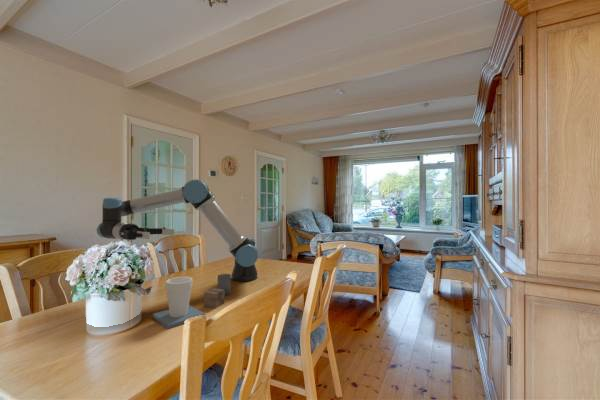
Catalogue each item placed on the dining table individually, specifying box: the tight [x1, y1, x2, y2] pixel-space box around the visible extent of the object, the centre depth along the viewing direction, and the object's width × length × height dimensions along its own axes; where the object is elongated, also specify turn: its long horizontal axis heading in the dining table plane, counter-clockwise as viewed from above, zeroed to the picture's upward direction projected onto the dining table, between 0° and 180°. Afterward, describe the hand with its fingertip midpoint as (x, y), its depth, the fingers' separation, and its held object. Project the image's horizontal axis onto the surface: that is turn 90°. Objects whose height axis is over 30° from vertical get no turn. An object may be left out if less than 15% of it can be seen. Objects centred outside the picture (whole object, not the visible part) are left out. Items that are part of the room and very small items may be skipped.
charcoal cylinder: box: [217, 273, 232, 297], centre depth 131 cm, size 6×6×9 cm
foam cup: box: [165, 276, 194, 317], centre depth 105 cm, size 10×9×13 cm
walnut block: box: [203, 287, 225, 309], centre depth 118 cm, size 6×6×6 cm
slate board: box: [152, 304, 206, 330], centre depth 105 cm, size 14×14×1 cm
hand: (162, 233), depth 121 cm, fingers open, 13 cm apart
